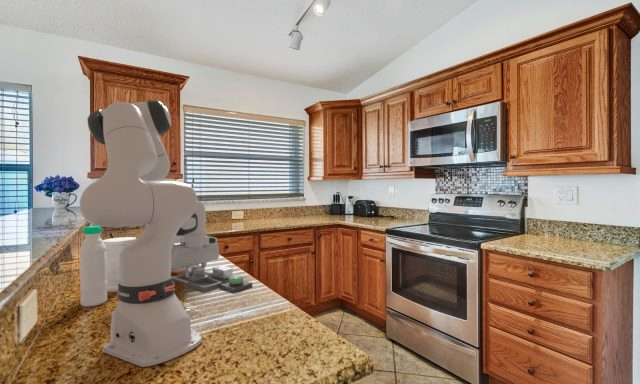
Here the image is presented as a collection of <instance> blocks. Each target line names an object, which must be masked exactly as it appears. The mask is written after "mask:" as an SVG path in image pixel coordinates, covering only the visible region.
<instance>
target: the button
mask: <svg viewBox="0 0 640 384" xmlns="http://www.w3.org/2000/svg"><path fill="white" fill-rule="evenodd" d="M243 281H244V276H243V275H233V276H231V277H229V284H232V285H238V284H241V283H243Z"/></svg>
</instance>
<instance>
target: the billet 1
mask: <svg viewBox="0 0 640 384" xmlns="http://www.w3.org/2000/svg"><path fill="white" fill-rule="evenodd" d="M205 269H206V267H205V268H204V267H202V265H199V266H198V265H191V266H189V269H188V271H189V272H192V274H191V275H192V276H191V277H186V276H185V278H186V279H190V280H191V281H192V280H196V279H200V278H204V277H206V276H205V275H206V274H205V271H206V270H205Z"/></svg>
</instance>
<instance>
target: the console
mask: <svg viewBox="0 0 640 384" xmlns="http://www.w3.org/2000/svg"><path fill="white" fill-rule="evenodd" d="M252 287H253V282H250V281H246V280H243V283H241V284H238V285H232V284H229V282H227V283H223V284H220V287H219V289H221V290H224V291H228V292H231V293H236V292H240V291H243V290H247V289H249V288H252Z"/></svg>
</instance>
